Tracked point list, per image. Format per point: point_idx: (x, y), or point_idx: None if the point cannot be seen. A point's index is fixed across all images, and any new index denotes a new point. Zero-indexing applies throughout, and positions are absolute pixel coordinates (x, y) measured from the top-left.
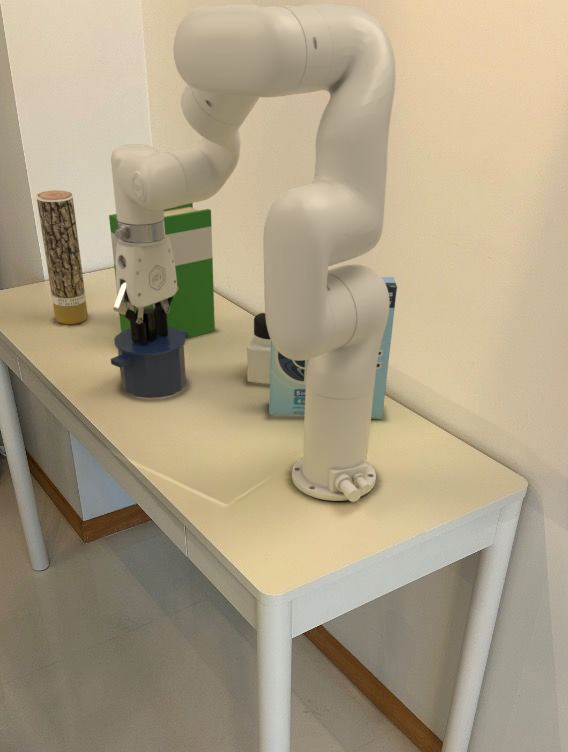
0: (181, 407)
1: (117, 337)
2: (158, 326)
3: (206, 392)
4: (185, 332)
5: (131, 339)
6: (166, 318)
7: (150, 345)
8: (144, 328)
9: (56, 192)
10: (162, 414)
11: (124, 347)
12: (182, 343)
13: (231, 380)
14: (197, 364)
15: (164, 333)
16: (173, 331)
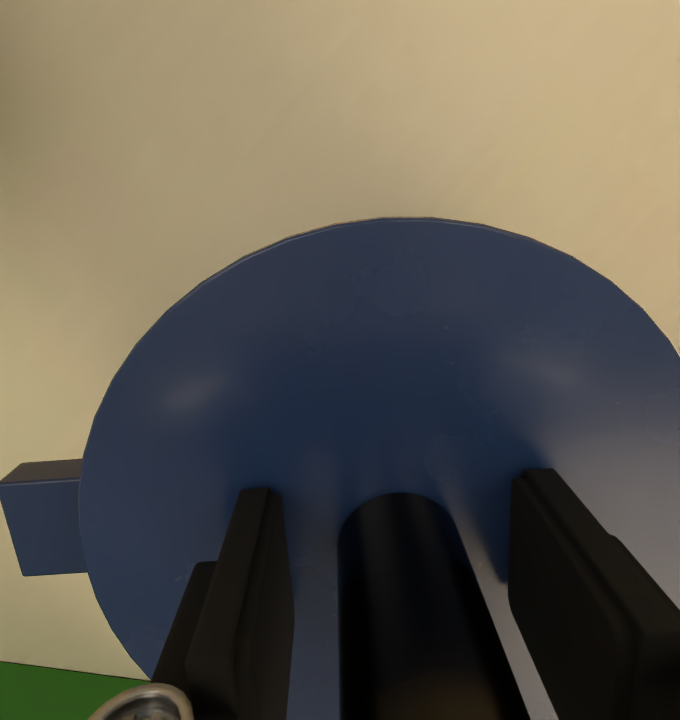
0: (443, 92)
1: (549, 716)
2: (280, 610)
3: (217, 128)
4: (10, 509)
5: (509, 629)
6: (212, 613)
7: (503, 439)
8: (625, 575)
9: None
10: (569, 108)
11: (670, 555)
12: (256, 257)
13: (6, 136)
14: (41, 419)
15: (277, 507)
16: (134, 527)
